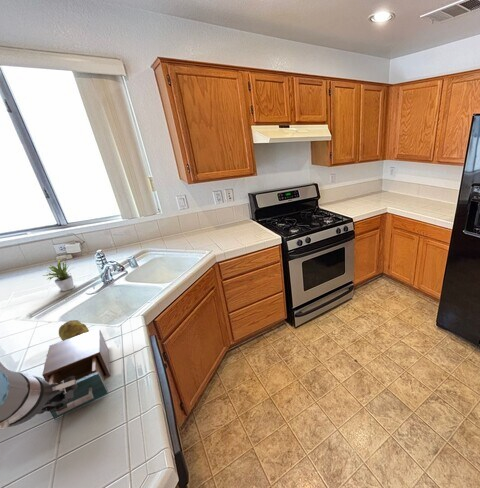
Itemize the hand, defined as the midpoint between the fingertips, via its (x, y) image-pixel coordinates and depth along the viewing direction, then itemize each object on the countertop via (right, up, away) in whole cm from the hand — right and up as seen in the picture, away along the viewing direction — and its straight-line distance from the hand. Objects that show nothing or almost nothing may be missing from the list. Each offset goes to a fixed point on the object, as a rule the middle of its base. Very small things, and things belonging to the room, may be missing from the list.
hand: (61, 403), depth 60 cm
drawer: (-10, -7, +16) cm, 20 cm away
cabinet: (-17, -5, +25) cm, 31 cm away
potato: (-33, -1, +39) cm, 51 cm away
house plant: (-79, +13, +81) cm, 115 cm away
